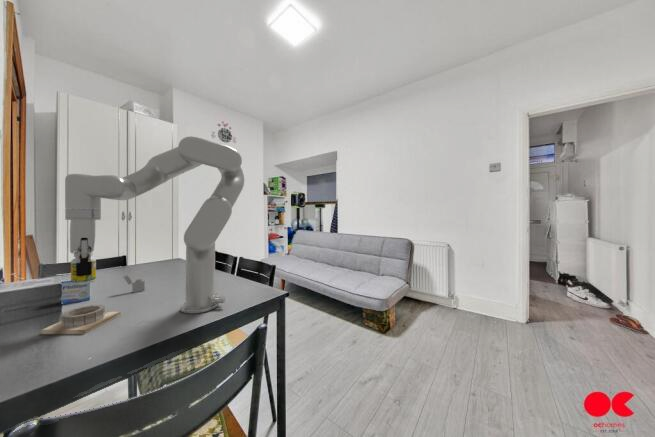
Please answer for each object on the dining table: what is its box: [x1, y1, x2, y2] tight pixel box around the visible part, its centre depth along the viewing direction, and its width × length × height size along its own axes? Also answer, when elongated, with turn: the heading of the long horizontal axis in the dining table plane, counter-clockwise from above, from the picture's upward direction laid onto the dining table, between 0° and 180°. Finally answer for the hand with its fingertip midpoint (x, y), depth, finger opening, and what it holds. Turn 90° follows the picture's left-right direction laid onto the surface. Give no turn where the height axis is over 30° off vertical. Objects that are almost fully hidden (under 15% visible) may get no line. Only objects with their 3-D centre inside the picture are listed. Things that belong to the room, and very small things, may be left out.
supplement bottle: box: [70, 251, 97, 285], centre depth 71 cm, size 5×5×10 cm
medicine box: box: [60, 278, 92, 305], centre depth 90 cm, size 8×4×9 cm, turn 131°
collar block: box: [40, 304, 122, 335], centre depth 72 cm, size 12×12×4 cm
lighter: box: [122, 274, 146, 293], centre depth 100 cm, size 7×2×8 cm, turn 132°
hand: (83, 272), depth 71 cm, fingers closed on supplement bottle, 5 cm apart
